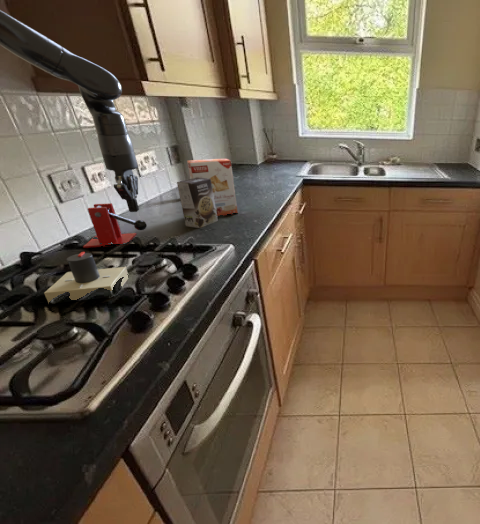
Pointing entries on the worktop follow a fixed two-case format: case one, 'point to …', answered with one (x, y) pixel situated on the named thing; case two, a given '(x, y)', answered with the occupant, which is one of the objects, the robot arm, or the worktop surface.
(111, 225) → the red lever stand
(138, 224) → the lever
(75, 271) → the knob
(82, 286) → the panel
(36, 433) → the worktop surface
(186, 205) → the coffee box
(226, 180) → the cracker box
